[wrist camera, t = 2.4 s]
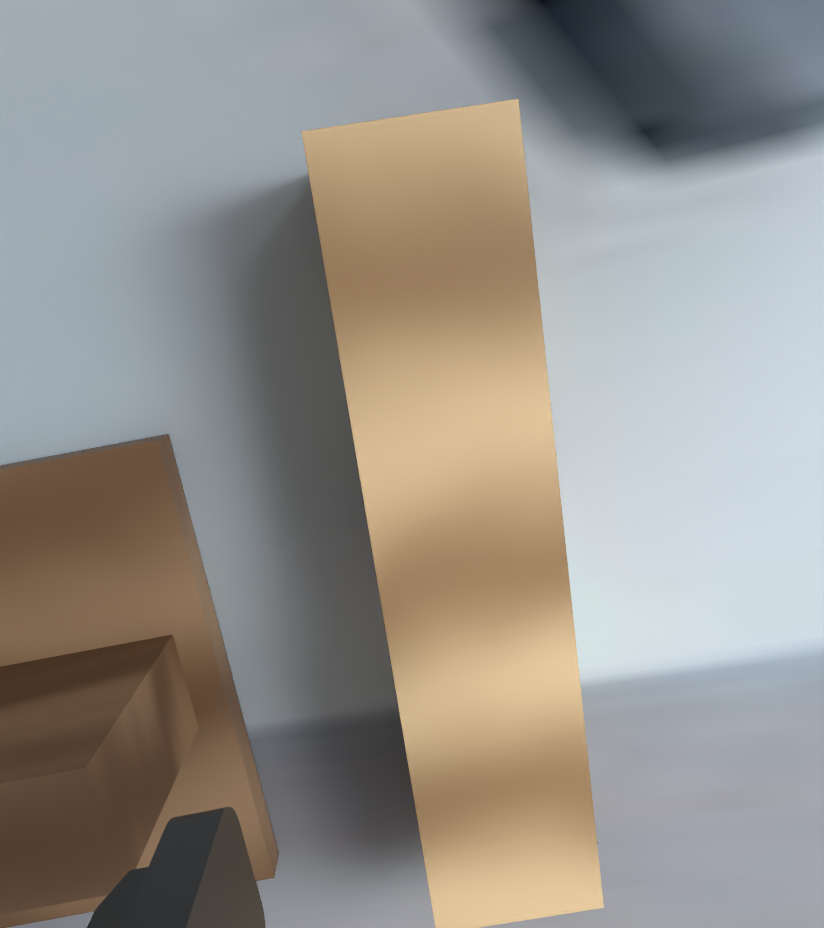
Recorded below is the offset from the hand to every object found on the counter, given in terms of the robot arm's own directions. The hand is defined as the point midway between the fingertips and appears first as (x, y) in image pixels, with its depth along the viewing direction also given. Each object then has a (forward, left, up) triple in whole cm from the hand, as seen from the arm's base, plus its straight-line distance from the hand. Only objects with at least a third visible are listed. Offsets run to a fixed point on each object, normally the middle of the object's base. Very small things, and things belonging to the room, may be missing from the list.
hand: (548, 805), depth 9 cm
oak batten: (0, 0, -12) cm, 12 cm away
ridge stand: (+3, -14, -12) cm, 19 cm away
